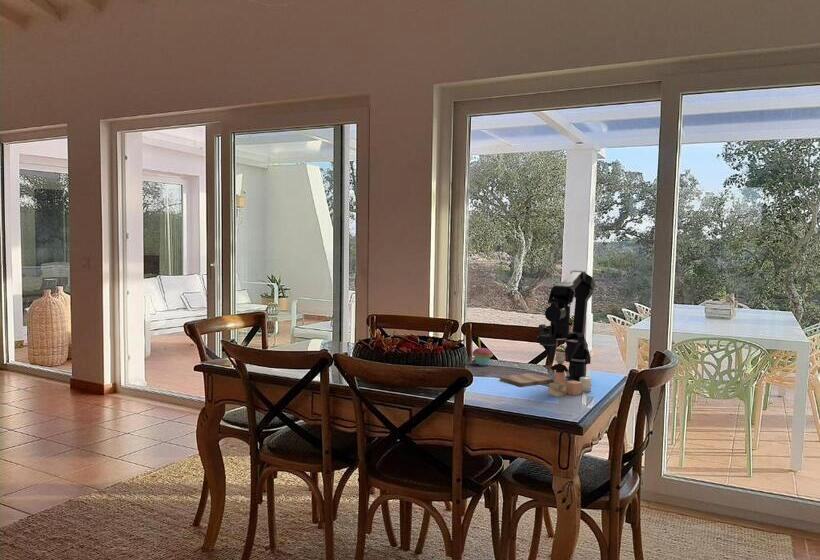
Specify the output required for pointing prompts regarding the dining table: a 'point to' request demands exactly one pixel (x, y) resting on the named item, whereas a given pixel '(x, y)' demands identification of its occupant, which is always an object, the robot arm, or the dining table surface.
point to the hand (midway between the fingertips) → (560, 361)
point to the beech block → (557, 389)
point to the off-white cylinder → (586, 384)
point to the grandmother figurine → (560, 369)
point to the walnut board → (526, 379)
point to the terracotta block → (573, 387)
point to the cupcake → (482, 355)
